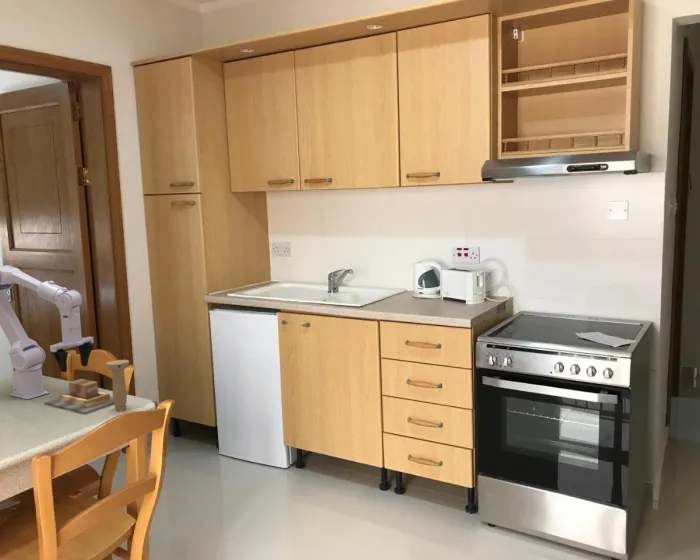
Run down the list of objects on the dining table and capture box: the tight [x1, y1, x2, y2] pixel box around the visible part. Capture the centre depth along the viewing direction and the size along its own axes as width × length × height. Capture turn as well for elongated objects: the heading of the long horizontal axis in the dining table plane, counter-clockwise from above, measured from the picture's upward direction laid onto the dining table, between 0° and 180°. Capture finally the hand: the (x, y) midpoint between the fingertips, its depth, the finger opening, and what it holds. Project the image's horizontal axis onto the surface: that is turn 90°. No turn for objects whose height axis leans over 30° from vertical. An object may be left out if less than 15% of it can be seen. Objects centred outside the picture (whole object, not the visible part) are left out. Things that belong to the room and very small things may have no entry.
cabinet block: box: [68, 378, 99, 400], centre depth 195 cm, size 9×5×6 cm, turn 59°
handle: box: [106, 359, 130, 412], centre depth 188 cm, size 5×6×15 cm
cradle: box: [44, 390, 114, 415], centre depth 196 cm, size 20×14×3 cm
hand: (74, 368), depth 201 cm, fingers open, 7 cm apart
